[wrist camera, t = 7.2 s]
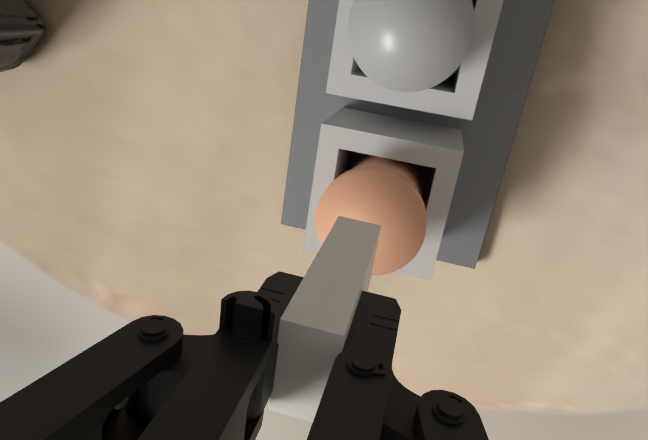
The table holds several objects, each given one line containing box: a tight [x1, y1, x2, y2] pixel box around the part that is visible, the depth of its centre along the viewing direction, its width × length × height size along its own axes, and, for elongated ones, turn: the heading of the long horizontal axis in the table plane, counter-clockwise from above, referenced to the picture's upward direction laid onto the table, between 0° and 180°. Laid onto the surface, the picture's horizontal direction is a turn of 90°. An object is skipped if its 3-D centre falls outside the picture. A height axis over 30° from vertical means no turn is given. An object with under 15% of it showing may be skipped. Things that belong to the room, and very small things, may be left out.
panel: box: [281, 0, 554, 280], centre depth 26 cm, size 17×12×6 cm
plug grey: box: [348, 0, 475, 92], centre depth 22 cm, size 5×5×6 cm
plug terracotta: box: [315, 154, 427, 275], centre depth 25 cm, size 5×5×6 cm
